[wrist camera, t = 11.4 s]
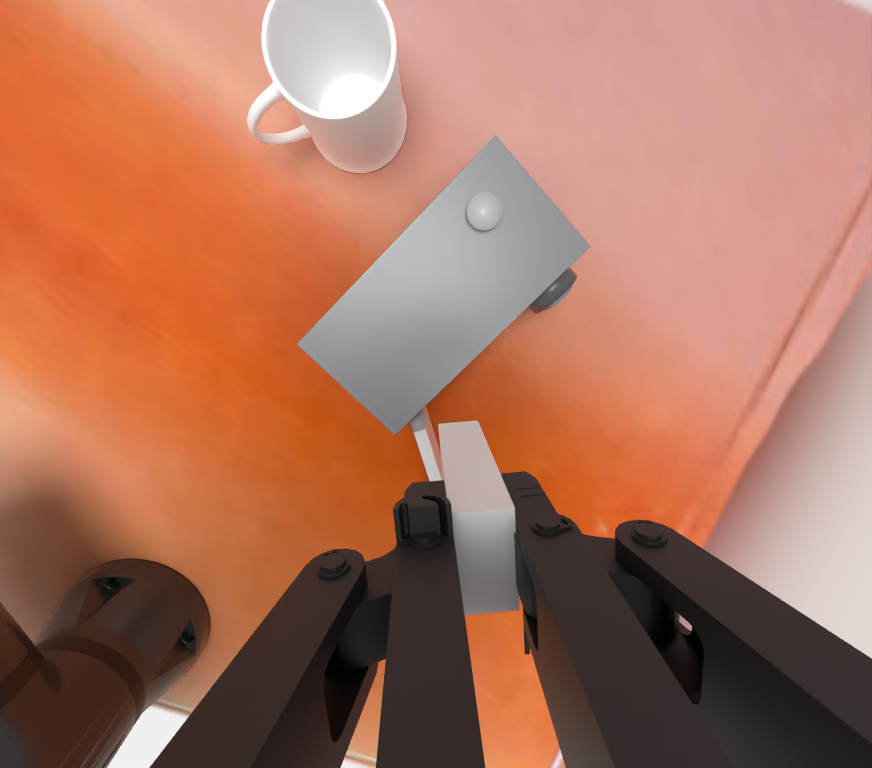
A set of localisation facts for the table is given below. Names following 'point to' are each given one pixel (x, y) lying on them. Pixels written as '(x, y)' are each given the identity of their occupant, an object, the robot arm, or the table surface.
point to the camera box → (447, 288)
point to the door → (427, 444)
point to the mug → (334, 79)
